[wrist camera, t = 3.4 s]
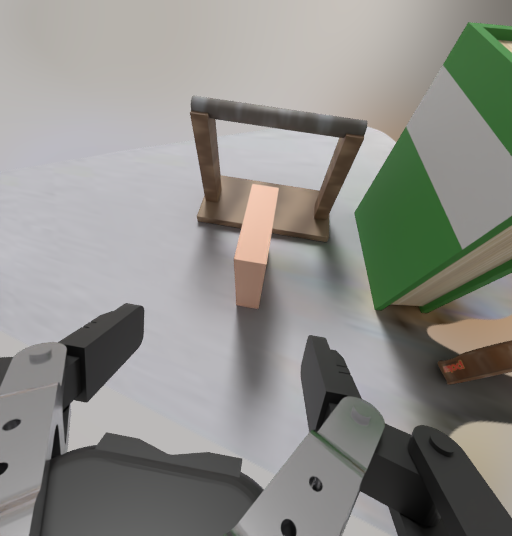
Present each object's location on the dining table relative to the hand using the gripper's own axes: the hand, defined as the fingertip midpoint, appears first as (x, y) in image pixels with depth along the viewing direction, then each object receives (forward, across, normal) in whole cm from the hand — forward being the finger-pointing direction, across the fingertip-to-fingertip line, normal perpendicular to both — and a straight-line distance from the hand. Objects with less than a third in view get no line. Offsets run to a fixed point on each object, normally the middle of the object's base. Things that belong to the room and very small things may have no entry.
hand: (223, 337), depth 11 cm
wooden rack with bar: (+32, 0, +6) cm, 33 cm away
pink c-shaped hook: (+23, 0, -4) cm, 23 cm away
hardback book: (+28, +20, +1) cm, 34 cm away
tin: (+18, +30, -9) cm, 36 cm away
